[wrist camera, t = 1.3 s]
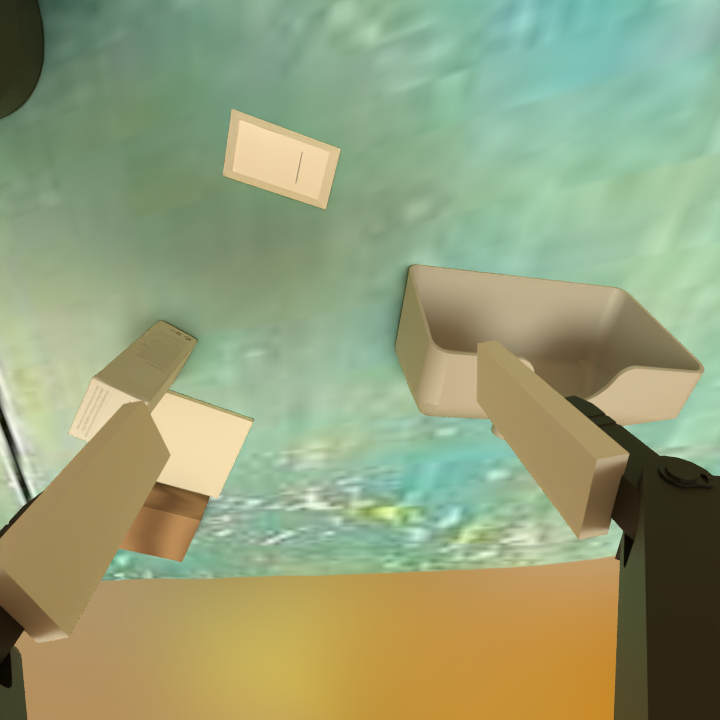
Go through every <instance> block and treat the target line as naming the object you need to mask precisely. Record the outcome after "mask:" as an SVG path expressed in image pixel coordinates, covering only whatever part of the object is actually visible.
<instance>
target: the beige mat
mask: <svg viewBox="0 0 720 720" xmlns="http://www.w3.org/2000/svg"><path fill="white" fill-rule="evenodd" d="M151 416H152V418H153V420H154V422H155V424H156V426H157V428H158V430H159V432H160V434H161V436H162V438H163V440H164V442H165V444H166V446H167V448H168V450H169V452H170V454H171V456H170V458H169V459H168V461H167V463H166V465H165V467H164V468H163V470H162V472H161V474H160V476H159V477H158V479H157V482H160V483H164V484H168V485H171V486H175V487H179V488H182V489H186V490H190V491H193V492H197V493H201V494H204V495H208V496H212V497H215V498H218V497H219V494H220V492H221V490H222V488H223V486H224V484H225V482H226V479H227V477H228V475H229V473H230V471H231V469H232V466H233V464H234V462H235V460H236V458H237V456H238V453H239V451H240V449H241V447H242V445H243V443H244V440H245V438H246V436H247V434H248V432H249V430H250V428H251V425H252V423H253V420H254V419H251V418H249V417H246V416H243V415H240V414H237V413H234V412H231V411H228V410H225V409H222V408H220V407H217V406H214V405H211V404H208V403H205V402H202V401H199V400H196V399H193V398H191V397H188V396H185V395H182V394H179V393H176V392H173V391H170V390H168V391H167V392H166V393H165V395H164V396H163V397H162V399H161V400H160V402H159V403H158V404H157V406H156V407H155V409H154V410H153V411H152V413H151Z"/></svg>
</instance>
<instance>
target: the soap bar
mask: <svg viewBox="0 0 720 720" xmlns="http://www.w3.org/2000/svg"><path fill="white" fill-rule="evenodd" d="M340 150H341V149H339V148H336V147H334V146H331V145H328V144H326V143H323V142H320V141H317V140H315V139H312V138H309V137H307V136H304V135H301V134H299V133H296V132H293V131H290V130H288V129H285V128H282V127H280V126H277V125H274V124H272V123H269V122H266V121H264V120H261V119H258V118H255V117H253V116H250V115H247V114H245V113H242V112H239V111H237V110H234V109H232V111H231V118H230V126H229V133H228V140H227V148H226V155H225V162H224V170H223V176H225V177H229V178H232V179H235V180H238V181H241V182H244V183H247V184H250V185H253V186H256V187H259V188H262V189H265V190H268V191H271V192H274V193H277V194H280V195H283V196H286V197H289V198H292V199H295V200H298V201H301V202H304V203H307V204H310V205H313V206H316V207H319V208H323V209H326V206H327V202H328V198H329V194H330V190H331V186H332V182H333V178H334V174H335V170H336V166H337V162H338V158H339V154H340Z"/></svg>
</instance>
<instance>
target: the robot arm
mask: <svg viewBox="0 0 720 720" xmlns="http://www.w3.org/2000/svg"><path fill="white" fill-rule="evenodd" d="M42 54H43V33H42V25H41V19H40V13H39V9H38V5H37V1H36V0H0V118H1V117H4V116H6V115H8V114H10V113H11V112H13V111H14V110H16V109H17V108H18V107H19V106H20V105H21V104H22V103H23V102H24V101H25V100H26V99H27V97H28V96H29V95H30V93H31V91H32V90H33V88H34V86H35V84H36V81H37V78H38V76H39V72H40V68H41V63H42ZM477 403H478V404H479V405H480V407H481V408H482V409H483V411H484V412H485V413H486V415H487V416H488V417H489V419H490V420H491V422H492V423H493V424H494V426H495V427H496V428H497V430H498V431H499V432H500V434H501V435H502V436H503V438H504V439H505V440H506V442H507V443H508V444H509V446H510V447H511V448H512V450H513V451H514V453H515V454H516V455H517V457H518V458H519V459H520V461H521V462H522V463H523V465H524V466H525V467H526V469H527V470H528V471H529V473H530V474H531V475H532V477H533V478H534V479H535V481H536V482H537V484H538V485H539V486H540V488H541V489H542V490H543V492H544V493H545V494H546V496H547V497H548V498H549V500H550V501H551V502H552V504H553V505H554V506H555V508H556V509H557V510H558V512H559V513H560V515H561V516H562V517H563V519H564V520H565V521H566V523H567V524H568V525H569V527H570V528H571V529H572V531H573V532H574V533H575V535H576V536H577V537H578V539H584V538H590V537H595V536H600V535H605V534H608V530H609V526H610V523H611V519H613V520H614V521H615V522H616V523H617V524H618V525H619V527H620V528H621V529H622V530H623V534H622V538H621V541H620V544H619V547H618V551H617V554H616V557H615V559H617V560H620V575H619V577H620V578H619V601H618V627H617V653H616V678H615V703H614V720H720V476H713V475H711V474H710V473H709V472H708V471H707V470H705V469H704V468H702V467H700V466H698V465H696V464H694V463H692V462H689V461H686V460H683V459H680V458H676V457H669V456H659V455H658V454H657V453H655V452H654V451H653V450H651V449H650V448H649V447H648V446H646V445H645V444H644V443H643V442H641V441H640V440H639V439H637V438H636V437H635V436H634V435H632V434H631V433H630V432H628V431H627V430H626V429H625V428H623V427H622V426H621V425H620V424H617V423H616V421H614V420H613V419H612V418H611V417H609V416H606V415H605V413H604V412H603V411H602V410H600V409H599V408H598V407H597V406H595V405H594V404H593V403H591V402H589V401H586V400H584V399H582V398H579V397H577V396H575V395H574V396H569V397H563V396H561V395H560V394H559V393H558V392H557V391H555V390H554V389H553V388H552V387H551V386H550V385H548V384H547V383H546V382H545V381H544V380H543V379H541V378H540V377H539V376H538V375H537V374H535V373H534V372H533V371H532V370H531V369H530V368H528V367H527V366H526V365H525V364H524V363H523V362H521V361H520V360H519V359H518V358H517V357H516V356H514V355H513V354H512V353H511V352H510V351H508V350H507V349H506V348H505V347H504V346H503V345H501V344H500V343H499V342H498V341H497V340H494V341H488V342H483V343H477ZM170 456H171V454H170V452H169V450H168V448H167V446H166V444H165V442H164V440H163V438H162V436H161V434H160V432H159V430H158V428H157V426H156V424H155V422H154V420H153V418H152V416H151V414H150V412H149V410H148V408H147V406H146V404H145V402H144V400H143V401H137V402H131V403H125V404H123V405H122V406H121V407H120V408H119V409H118V410H117V411H116V413H115V414H114V415H113V416H112V417H111V418H110V419H109V420H108V421H107V422H106V423H105V425H104V426H103V427H102V428H101V429H100V430H99V431H98V432H97V433H96V434H95V436H94V437H93V438H92V439H91V440H90V441H89V442H88V443H87V444H86V445H85V446H84V448H83V449H82V450H81V451H80V452H79V453H78V454H77V455H76V456H75V457H74V458H73V460H72V461H71V462H70V463H69V464H68V465H67V466H66V467H65V468H64V469H63V470H62V472H61V473H60V474H59V475H58V476H57V477H56V478H55V479H54V480H53V481H52V482H51V484H50V485H49V486H48V487H47V488H46V489H45V490H44V491H43V492H41V493H40V494H39V495H37V496H36V497H35V498H33V499H32V500H31V501H29V502H28V503H27V504H25V505H24V506H23V507H22V508H21V509H20V510H19V511H18V512H17V514H16V515H15V516H14V517H13V518H12V519H11V520H10V521H9V524H8V525H5V526H4V527H3V529H2V530H1V531H0V720H27V712H26V702H25V691H24V680H23V669H22V659H21V654H20V652H19V650H18V649H17V648H16V647H15V646H14V644H15V643H16V641H17V640H18V638H19V637H20V635H21V634H22V632H23V631H25V632H27V633H28V634H29V635H30V636H31V637H32V638H33V639H34V640H35V641H36V642H37V643H41V642H46V641H52V640H57V639H62V638H67V637H69V636H70V634H71V633H72V631H73V629H74V627H75V626H76V624H77V622H78V620H79V619H80V617H81V615H82V613H83V611H84V609H85V608H86V606H87V604H88V602H89V601H90V599H91V597H92V595H93V593H94V592H95V590H96V588H97V586H98V584H99V583H100V581H101V579H102V577H103V576H104V574H105V572H106V570H107V568H108V567H109V565H110V563H111V561H112V560H113V558H114V556H115V554H116V552H117V551H118V549H119V547H120V545H121V543H122V542H123V540H124V538H125V536H126V535H127V533H128V531H129V529H130V527H131V526H132V524H133V522H134V520H135V518H136V517H137V515H138V513H139V511H140V510H141V508H142V506H143V504H144V502H145V501H146V499H147V497H148V495H149V493H150V492H151V490H152V488H153V486H154V484H155V483H156V481H157V479H158V477H159V476H160V474H161V472H162V470H163V468H164V467H165V465H166V463H167V461H168V459H169V458H170Z"/></svg>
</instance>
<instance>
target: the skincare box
mask: <svg viewBox="0 0 720 720" xmlns="http://www.w3.org/2000/svg"><path fill="white" fill-rule="evenodd" d="M196 343H197V339H195V338H193V337H191V336H190V335H188V334H186V333H184V332H182V331H180V330H179V329H177V328H175V327H173V326H171V325H169V324H167V323H166V322H164V321H159V322H157V323H156V324H155V325H154V326H153V327H151V328H150V329H149V330H148V331H147V332H146V333H144V334H143V335H142V336H141V337H140V338H139V339H138V340H136V341H135V342H134V343H133V344H132V345H130V346H129V347H128V348H127V349H126V350H124V351H123V352H122V353H121V354H120V355H119V356H117V357H116V358H115V359H114V360H113V361H112V362H111V363H110V364H108V365H107V366H106V367H105V368H104V369H103V370H102V371H100V372H99V373H98V374H97V375H95V376H94V377H93V378H92V380H91V382H90V384H89V387H88V389H87V391H86V394H85V396H84V398H83V400H82V403H81V405H80V407H79V409H78V412H77V414H76V416H75V418H74V421H73V423H72V425H71V428H70V430H69V432H68V434H71V435H73V436H75V437H78V438H80V439H83V440H85V441H88V442H89V441H90V440H91V439H92V438H93V437H94V436H95V434H96V433H97V432H98V431H99V430H100V429H101V428H102V427H103V426H104V425H105V423H106V422H107V421H108V420H109V419H110V418H111V417H112V416H113V415H114V414H115V413H116V411H117V410H118V409H119V408H120V407H121V406H122V405H123V404H125V403H131V402H137V401H143V400H144V402H145V404H146V406H147V408H148V410H149V412H150V414H151V413H152V411H153V410H154V409H155V407H156V406H157V404H158V403H159V402H160V400H161V399H162V397H163V396H164V395H165V393H166V392H167V391H168V389H169V388H170V386H171V385H172V384H173V382H174V381H175V379H176V378H177V376H178V374H179V373H180V371H181V369H182V368H183V366H184V364H185V362H186V361H187V359H188V357H189V355H190V354H191V352H192V350H193V348H194V347H195V345H196Z"/></svg>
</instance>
